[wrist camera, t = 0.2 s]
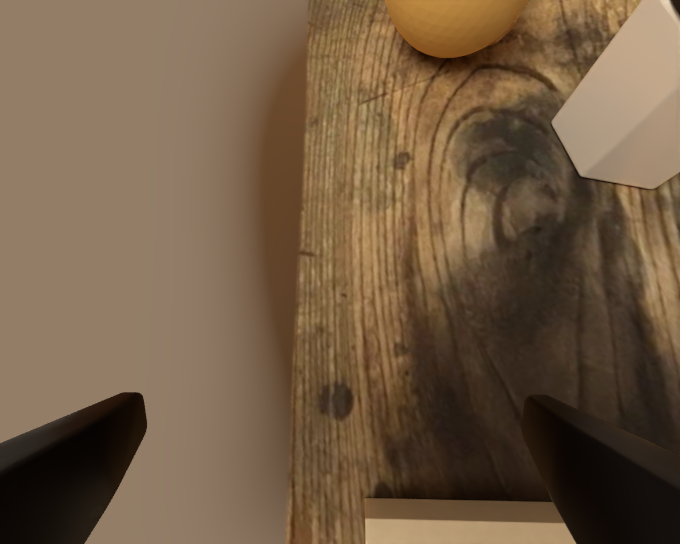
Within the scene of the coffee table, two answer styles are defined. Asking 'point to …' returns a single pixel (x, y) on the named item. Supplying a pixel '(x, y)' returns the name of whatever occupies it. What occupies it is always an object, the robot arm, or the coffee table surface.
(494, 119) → the coffee table surface
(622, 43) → the jar
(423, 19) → the stress ball
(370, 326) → the coffee table surface
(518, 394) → the coffee table surface
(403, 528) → the plate
